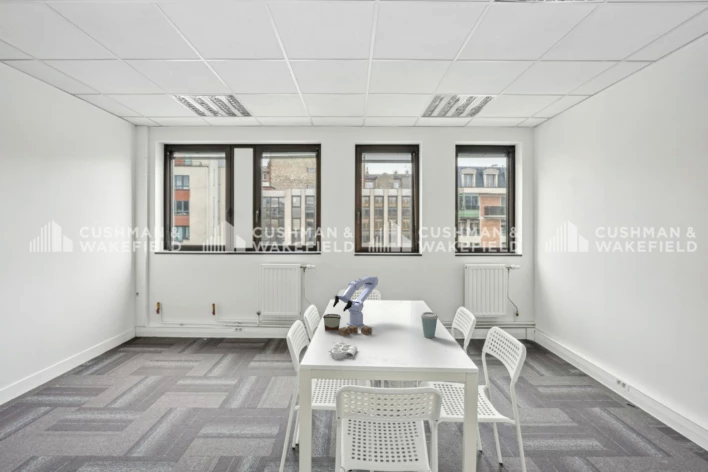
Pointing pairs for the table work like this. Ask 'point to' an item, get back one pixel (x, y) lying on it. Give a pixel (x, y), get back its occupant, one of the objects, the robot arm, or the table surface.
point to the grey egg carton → (342, 350)
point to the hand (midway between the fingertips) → (338, 308)
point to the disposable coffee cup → (429, 324)
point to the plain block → (353, 329)
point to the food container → (331, 322)
